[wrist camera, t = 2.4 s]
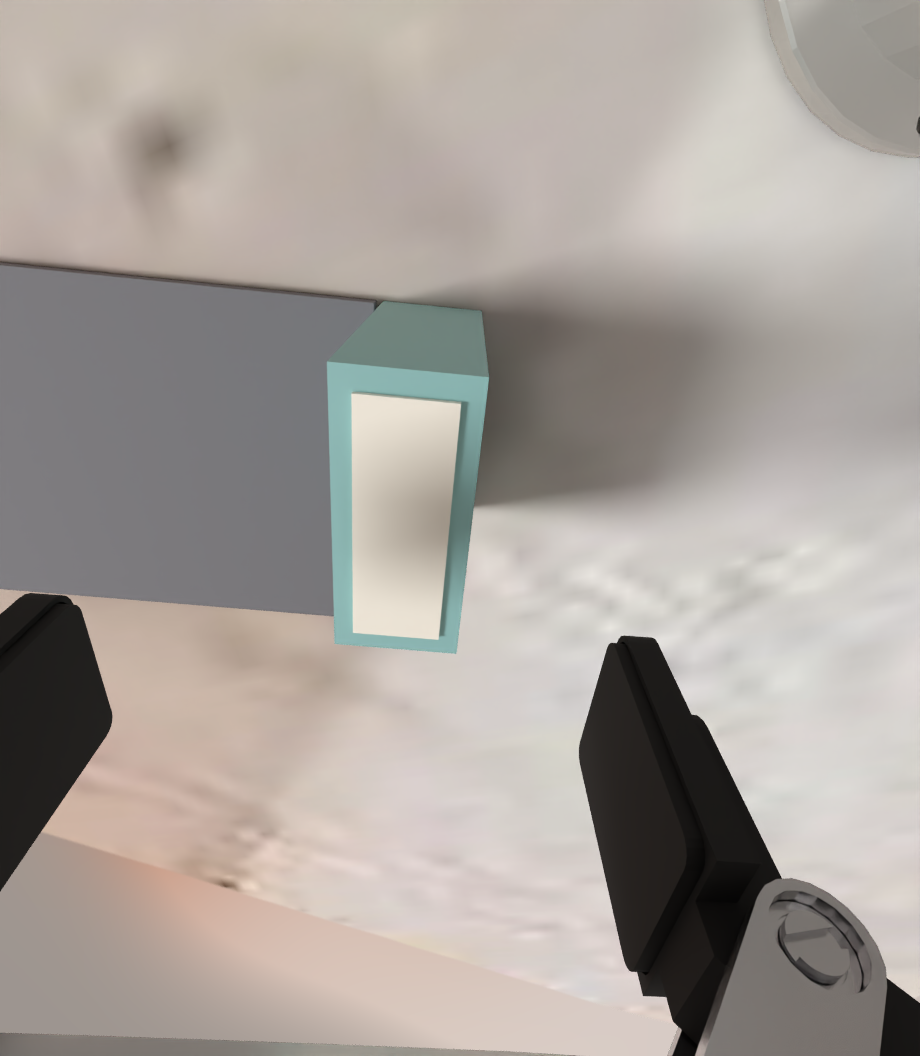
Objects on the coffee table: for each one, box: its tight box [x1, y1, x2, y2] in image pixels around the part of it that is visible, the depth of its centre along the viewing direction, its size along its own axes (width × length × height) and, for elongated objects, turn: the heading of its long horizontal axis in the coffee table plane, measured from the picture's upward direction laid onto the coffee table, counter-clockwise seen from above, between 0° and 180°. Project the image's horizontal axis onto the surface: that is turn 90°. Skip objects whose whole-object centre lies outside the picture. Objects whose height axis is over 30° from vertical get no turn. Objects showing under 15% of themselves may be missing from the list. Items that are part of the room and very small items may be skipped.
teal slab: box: [327, 301, 489, 654], centre depth 18 cm, size 8×4×9 cm, turn 175°
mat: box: [0, 262, 376, 616], centre depth 23 cm, size 14×18×1 cm
